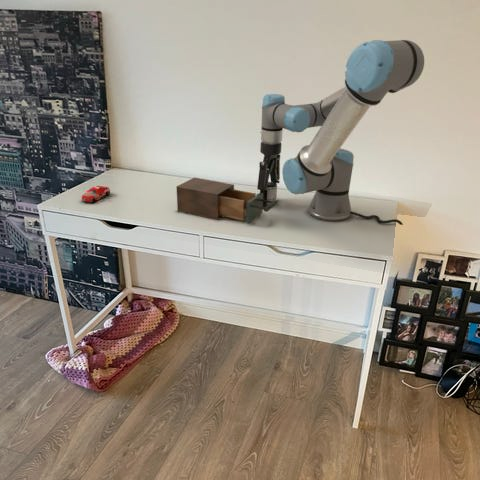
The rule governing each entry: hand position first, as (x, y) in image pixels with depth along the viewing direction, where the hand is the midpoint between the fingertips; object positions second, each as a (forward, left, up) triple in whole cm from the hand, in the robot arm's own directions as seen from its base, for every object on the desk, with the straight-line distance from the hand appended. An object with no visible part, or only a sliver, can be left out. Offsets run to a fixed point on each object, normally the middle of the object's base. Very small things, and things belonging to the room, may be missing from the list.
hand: (267, 203), depth 186 cm
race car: (+60, +28, 0) cm, 66 cm away
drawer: (+1, +18, +1) cm, 18 cm away
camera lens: (0, 0, 0) cm, 0 cm away
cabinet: (+17, +18, 0) cm, 25 cm away
